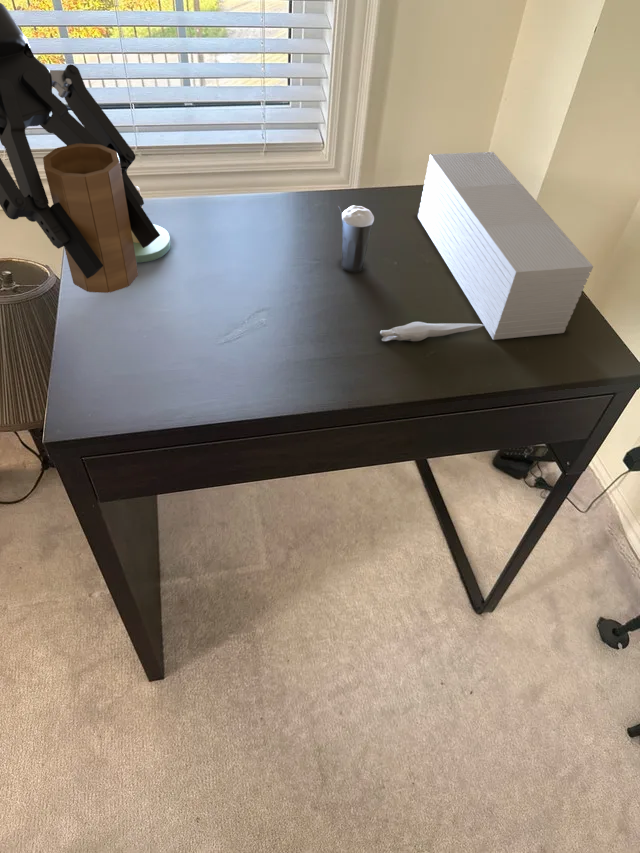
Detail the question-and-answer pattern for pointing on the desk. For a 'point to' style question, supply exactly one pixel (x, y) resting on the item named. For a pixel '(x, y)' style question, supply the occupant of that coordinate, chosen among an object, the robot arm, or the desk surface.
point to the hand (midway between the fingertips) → (124, 256)
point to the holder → (152, 245)
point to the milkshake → (355, 236)
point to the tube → (95, 211)
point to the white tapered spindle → (425, 330)
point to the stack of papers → (501, 246)
